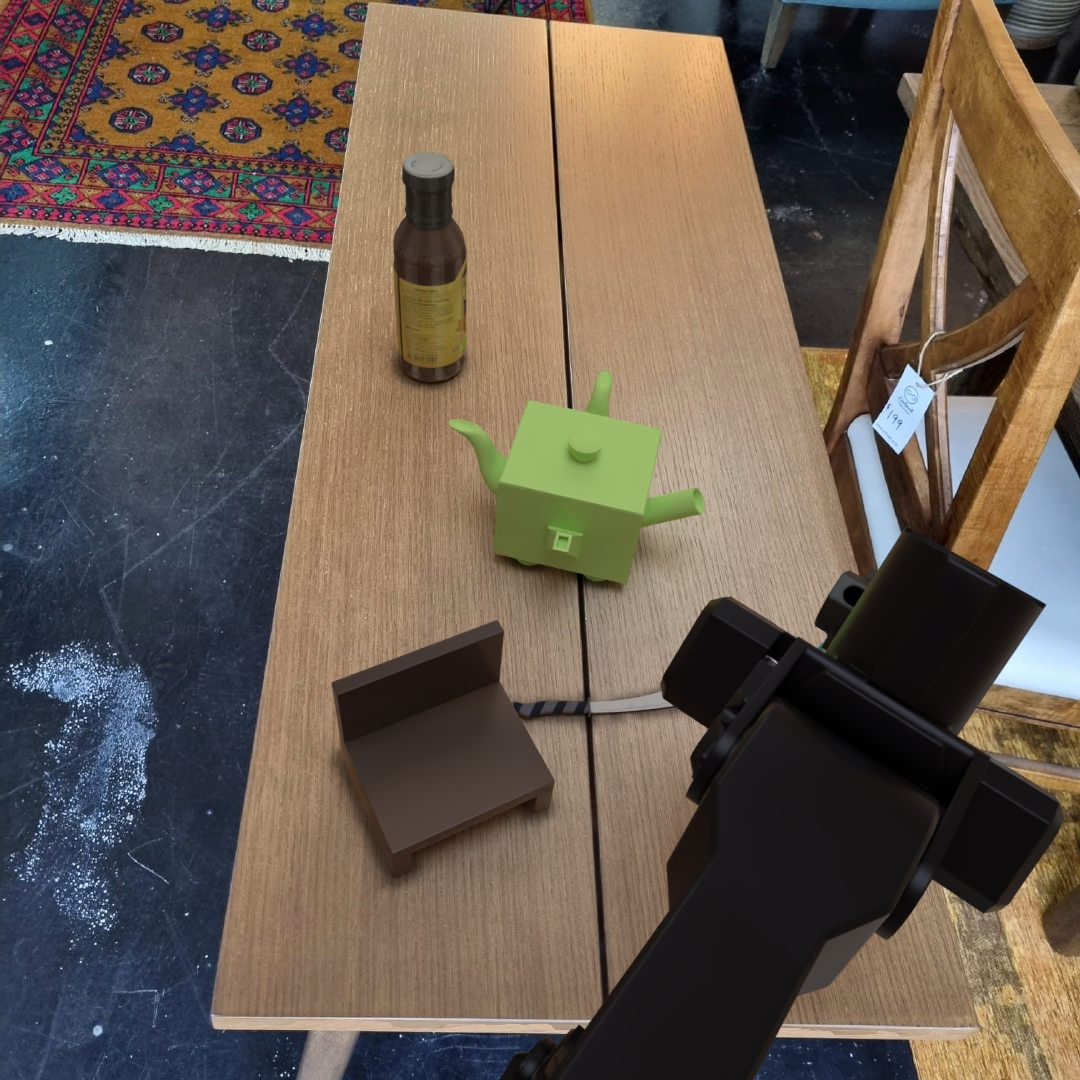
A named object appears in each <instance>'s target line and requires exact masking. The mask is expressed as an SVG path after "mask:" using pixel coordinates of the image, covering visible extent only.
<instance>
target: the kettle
mask: <svg viewBox="0 0 1080 1080" xmlns="http://www.w3.org/2000/svg"><path fill="white" fill-rule="evenodd" d="M613 380H614V378H613V373H612V371H610V370H609V369H603V370H602V371H600V373H598V375H597V378H596V380H595V383H594V386H593V390H592V393H591V396H590V399H589V401H588V404H587V405H586V408H585V410H584V411H583V410H577V409H573V408H570V407H569V408H568V407H564V406H560V405H554V404H551V403H545V402H541V401H536V400H529V399H528V400H527V401H526V405H525V406H524V407H525V408H524V411H523V414H522V416H521V418H520V422H519V424H518V426H517V430H516V432H515V436H514V438H513V441H512V444H511V446H510V450H509V453H508V455H507V457H506V456H505V455H502V453H500V451H499V450H498V449H497V447H496V446H495V444H494V442H493V440H492V438H491V437H490V435H489V434H488V433H487V432H486V430H484V429H483V428H482V427H481V426H480V425H478V424H476V423H475V422H472V421H470V420H466V419H460V418H453V419H452V418H451V419H450V420H448V425H449V426H450V427H451V428H452V429H453V430H454V431H456V432H457V433H459V434H461V435H462V436H463V437H465V439H467V441H468V442H469V443H470V445H471V446H472V448H473V451H474V453H475V456H476V460H477V464H478V468H479V471H480V475H481V478H482V480H483V482H484V484H485V485H486V487H487V488H488V491H490V492H491V493H492V494H493V495H495V497H497V498H496V509H495V510H496V511H495V524H494V525H495V526H494V538H493V550H492V553H493V554H496V555H499V556H505V557H509V558H512V559H516V560H517V561H518V562H519V563H520V564H522V565H523V566H529V567H530V566H536V565H543V566H546V567H551V568H556V569H560V570H564V571H567V572H572V573H576V574H582V575H583V576H584V577H585V578H586V579H587V580H590V581H592V582H596V583H597V582H599V583H600V582H603V581H605V580H607V581H610V582H614V583H620V584H624V585H627V584H628V582H629V581H628V580H629V577H630V573H631V569H632V564H633V561H634V557H635V552H636V548H637V545H638V541H639V537H640V533H641V529H642V528H645V527H650V526H654V525H659V524H663V523H667V522H673V521H676V520H681V519H686V518H691V517H695V516H700V515H703V514H704V513H705V510H706V502H705V498H704V495H703V492H702V491H701V490H700V488H698V487H696V486H695V487H691V488H687V489H683V490H679V491H673V492H670V493H666V494H661V495H657V496H653V497H649V495H650V490H651V486H652V480H653V475H654V472H655V467H656V463H657V459H658V453H659V450H660V444H661V440H662V435H663V429H662V428H658V427H653V426H649V425H645V424H641V423H636V422H632V421H627V420H623V419H618V418H615V417H610V398H611V392H612V387H613Z"/></svg>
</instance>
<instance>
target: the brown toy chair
mask: <svg viewBox="0 0 1080 1080" xmlns="http://www.w3.org/2000/svg"><path fill="white" fill-rule="evenodd" d="M504 639H505V630H504V628H503V626H502V624H501V623H500V622H499V620H498V619H494V620H493V621H489V622H488V623H484V624H482V625H480V626H477V627H473V628H472V629H471V628H470V629H469V630H466V631H463V632H461V633H458V634H456V635H453V636H451V637H447V638H445V639H442V640H439V641H438V642H435V643H432V644H429V645H427V646H424V647H421V648H418V649H415V650H413V651H411V652H410V651H409V652H408V653H406V654H403V655H400V656H397V657H395V658H392V659H390V660H387V661H383V662H382V663H379V664H376V665H373V666H371V667H368V668H366V669H363V670H360V671H358V672H354V673H352V674H350V675H346V676H344V677H341V678H339V679H336V680H334V681H332V682H331V688H332V689H331V690H332V695H333V701H334V708H335V715H336V721H337V728H338V734H339V742H340V746H341V747H340V748H341V753H342V760H343V762H344V765H345V767H346V770H347V772H348V774H349V776H350V779H351V781H352V784H353V786H354V788H355V791H356V793H357V795H358V798H359V800H360V802H361V805H362V807H363V809H364V811H365V815H366V816H367V819H368V821H369V823H370V826H371V828H372V830H373V833H374V835H375V838H376V839H377V842H378V844H379V847H380V849H381V851H382V853H383V856H384V858H385V861H386V863H387V865H388V868H389V869H390V872H391V875H392V877H393V878H394V879H397V878H399V877H401V876H403V875H406V874H408V873H410V872H412V870H413V869H412V868H413V867H412V866H413V865H412V854H413V853H415V852H417V851H419V850H422V849H423V848H424V849H425V848H426V847H429V846H431V845H433V844H435V843H437V842H439V841H442V840H444V839H446V838H448V837H450V836H453V835H455V834H457V833H460V832H461V831H464V830H466V829H468V828H470V827H473V826H475V825H477V824H479V823H482V822H483V821H485V820H487V819H490V818H493V817H494V816H495V817H496V815H500V814H501V813H503V812H505V811H508V810H510V809H512V808H514V807H517V806H519V805H521V804H523V803H525V802H526V803H527V805H528V807H529V809H530V811H531V812H532V814H533V815H536V814H538V813H540V812H543V811H546V810H547V809H549V808H550V806H551V803H552V797H553V793H554V787H555V783H556V779H555V778H554V776H553V774H552V772H551V771H550V769H549V767H548V765H547V763H546V762H545V760H544V758H543V757H542V755H541V752H540V751H539V749H538V748H537V746H536V744H535V742H534V740H533V739H532V737H531V735H530V733H529V731H528V730H527V727H526V726H525V724H524V723H523V721H522V719H521V716H520V714H519V713H518V712H517V711H516V710H515V708H514V706H513V703H512V701H511V699H510V697H509V696H508V694H507V691H506V690H505V689H504V686H503V684H502V683H501V681H500V678H501V669H502V660H503V659H502V658H503V651H504V649H503V648H504Z"/></svg>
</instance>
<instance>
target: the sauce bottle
mask: <svg viewBox="0 0 1080 1080" xmlns="http://www.w3.org/2000/svg"><path fill="white" fill-rule="evenodd" d="M401 166H402V168H401V169H402V170H401V180H402V183H403V184H404V187H405V188H404V189H405V190H404V191H405V207H404V213H405V217H404V218H402V220H401V221H400V222H399V224H398V227H397V228H396V230H395V232H394V235H393V236H394V237H393V243H392V245H393V246H392V248H393V263H392V267H393V288H394V289H393V290H394V305H395V306H394V309H395V326H396V340H397V341H396V343H397V345H396V346H397V349H398V350H397V351H398V354H399V355H398V357H399V363H400V367H401V368H402V371H403V372H404V373H405V374H406V375H407V376H408V377H410V378H413V379H415V380H417V381H421V382H427V383H435V382H440V381H445V380H449V379H450V378H452V377H454V376H456V375H457V374H459V372H460V371H461V369H462V368H463V366H464V363H465V352H466V349H467V291H468V290H467V288H468V287H467V285H468V277H467V275H468V274H467V273H468V272H467V271H468V249H467V244H466V241H465V236H464V232H463V231H462V229H461V227H460V226H459V224H458V223H457V222H456V220H455V219H454V217H453V215H454V208H453V193H452V192H453V184H454V182H455V174H456V173H455V171H456V170H455V167H454V163H453V161H452V160H451V159H450V158H449V157H448V156H446V155H443V154H441V153H436V152H434V151H421V152H416V153H413V154H410V155H408V156H407V157H405V159H404V160H403V162H402V165H401Z"/></svg>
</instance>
